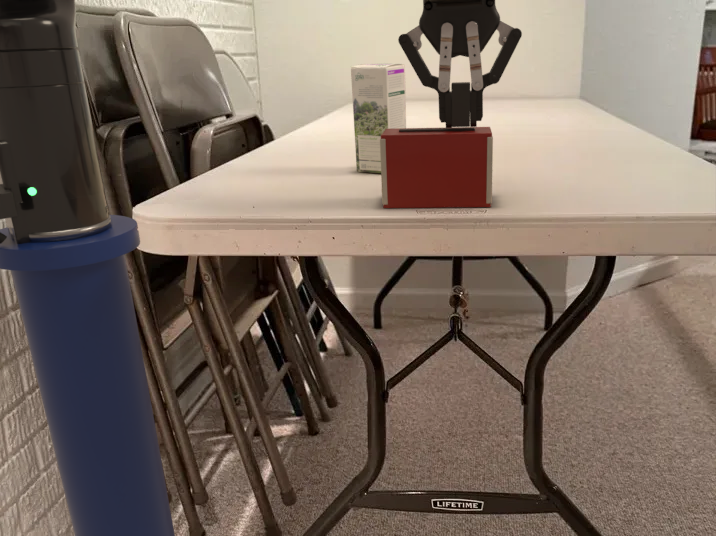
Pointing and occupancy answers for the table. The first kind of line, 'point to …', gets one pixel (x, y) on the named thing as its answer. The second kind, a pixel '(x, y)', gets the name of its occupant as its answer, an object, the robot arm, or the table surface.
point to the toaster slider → (460, 104)
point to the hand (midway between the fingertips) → (461, 125)
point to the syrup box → (376, 109)
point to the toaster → (436, 167)
